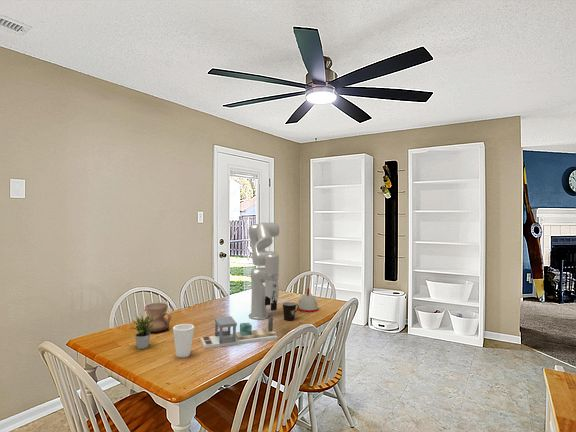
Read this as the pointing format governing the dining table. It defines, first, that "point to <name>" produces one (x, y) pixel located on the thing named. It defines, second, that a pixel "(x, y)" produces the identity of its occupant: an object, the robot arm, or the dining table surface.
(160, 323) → the ceramic jug
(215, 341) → the tunnel board
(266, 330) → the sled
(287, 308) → the coffee mug
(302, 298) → the grey service bell
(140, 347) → the house plant
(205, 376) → the dining table surface
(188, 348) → the foam cup
